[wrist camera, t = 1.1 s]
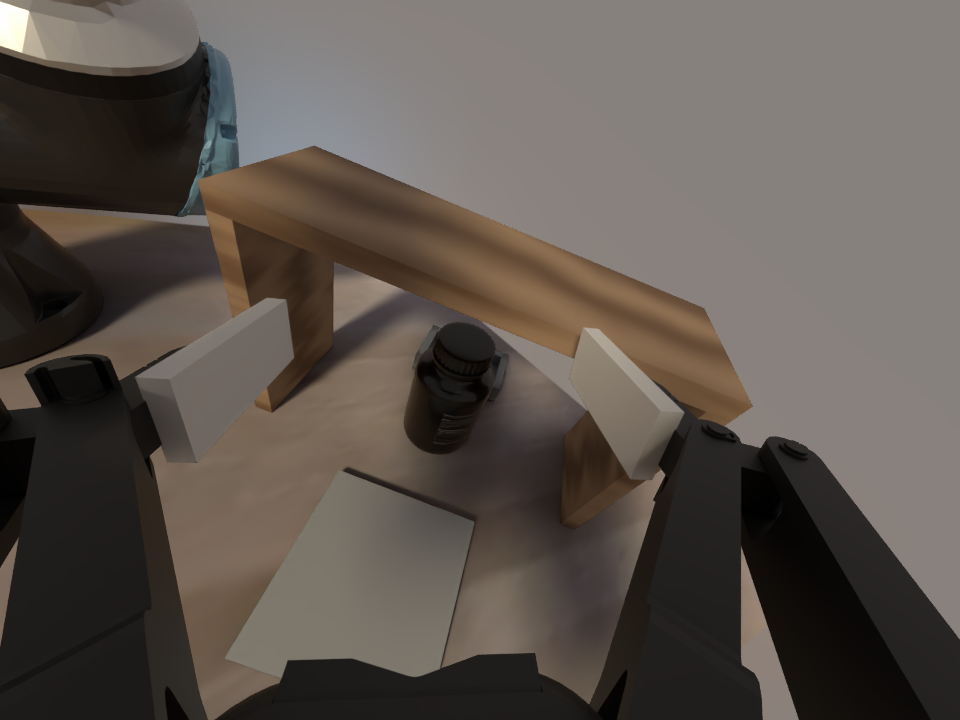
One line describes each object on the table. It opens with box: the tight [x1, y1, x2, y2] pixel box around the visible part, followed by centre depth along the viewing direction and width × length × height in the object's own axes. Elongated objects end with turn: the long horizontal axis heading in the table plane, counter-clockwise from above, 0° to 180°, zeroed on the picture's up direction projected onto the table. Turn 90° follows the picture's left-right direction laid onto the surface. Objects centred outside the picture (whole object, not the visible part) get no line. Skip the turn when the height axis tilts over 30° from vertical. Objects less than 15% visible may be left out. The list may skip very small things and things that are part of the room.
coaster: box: [225, 470, 475, 678], centre depth 24 cm, size 12×12×1 cm
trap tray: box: [412, 325, 509, 401], centre depth 40 cm, size 6×10×2 cm, turn 76°
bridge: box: [198, 146, 753, 529], centre depth 28 cm, size 10×31×20 cm, turn 76°
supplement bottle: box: [404, 322, 496, 454], centre depth 30 cm, size 7×7×12 cm
